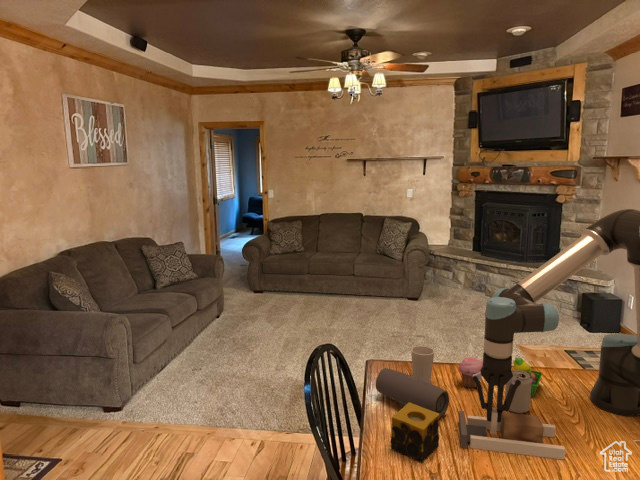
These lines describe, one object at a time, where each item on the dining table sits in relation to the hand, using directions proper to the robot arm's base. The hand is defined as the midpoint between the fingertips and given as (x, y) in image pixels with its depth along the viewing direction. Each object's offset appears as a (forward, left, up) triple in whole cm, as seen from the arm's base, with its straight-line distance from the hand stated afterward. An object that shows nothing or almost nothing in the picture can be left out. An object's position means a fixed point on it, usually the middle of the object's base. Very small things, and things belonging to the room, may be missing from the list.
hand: (493, 431), depth 137 cm
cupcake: (+4, -32, -3) cm, 32 cm away
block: (-7, 0, -2) cm, 8 cm away
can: (-9, -19, -3) cm, 21 cm away
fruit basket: (-14, -33, -3) cm, 36 cm away
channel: (-5, 0, -2) cm, 6 cm away
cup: (+21, -31, -3) cm, 37 cm away
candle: (+22, +9, -3) cm, 23 cm away
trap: (+5, 0, -2) cm, 5 cm away
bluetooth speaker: (+24, -13, -3) cm, 27 cm away
